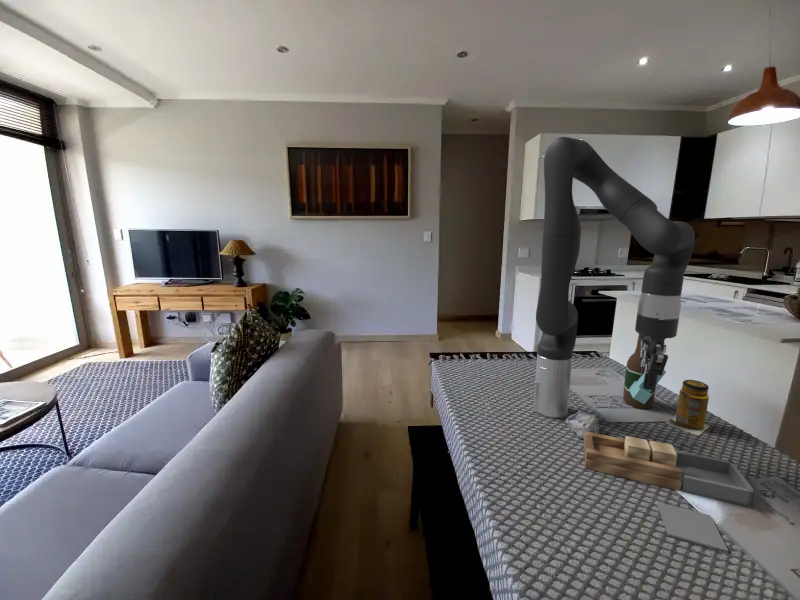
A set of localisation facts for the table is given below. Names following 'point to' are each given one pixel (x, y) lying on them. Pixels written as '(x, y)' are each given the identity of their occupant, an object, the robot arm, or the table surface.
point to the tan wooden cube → (636, 448)
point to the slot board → (626, 462)
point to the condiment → (692, 407)
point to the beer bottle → (635, 379)
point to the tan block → (662, 453)
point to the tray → (714, 479)
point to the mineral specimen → (583, 423)
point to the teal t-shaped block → (642, 389)
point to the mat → (691, 526)
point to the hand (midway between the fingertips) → (647, 386)
